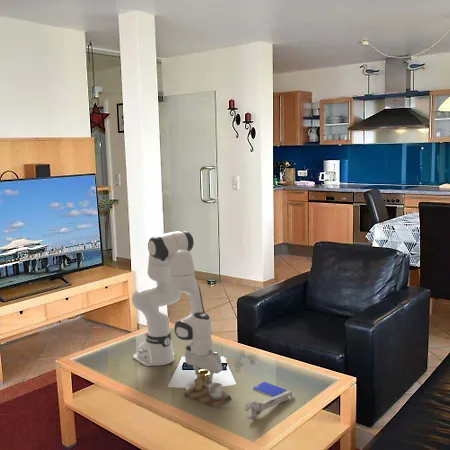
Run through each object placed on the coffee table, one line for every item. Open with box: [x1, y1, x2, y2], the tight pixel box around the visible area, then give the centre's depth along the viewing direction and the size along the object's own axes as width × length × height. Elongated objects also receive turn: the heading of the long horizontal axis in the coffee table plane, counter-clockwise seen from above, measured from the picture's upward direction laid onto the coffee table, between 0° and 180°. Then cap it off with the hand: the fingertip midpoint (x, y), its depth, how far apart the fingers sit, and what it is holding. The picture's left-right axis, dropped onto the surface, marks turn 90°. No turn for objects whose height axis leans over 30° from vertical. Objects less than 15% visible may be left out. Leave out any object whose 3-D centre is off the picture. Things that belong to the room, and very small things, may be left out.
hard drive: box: [252, 381, 288, 398], centre depth 237 cm, size 2×8×12 cm
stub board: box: [183, 377, 232, 408], centre depth 232 cm, size 18×10×6 cm, turn 49°
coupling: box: [196, 369, 212, 385], centre depth 249 cm, size 6×6×4 cm
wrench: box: [244, 390, 293, 420], centre depth 220 cm, size 8×2×30 cm
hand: (204, 377), depth 249 cm, fingers closed on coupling, 6 cm apart
